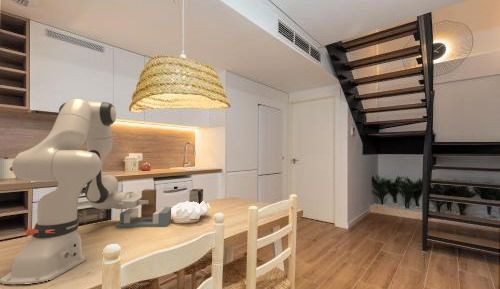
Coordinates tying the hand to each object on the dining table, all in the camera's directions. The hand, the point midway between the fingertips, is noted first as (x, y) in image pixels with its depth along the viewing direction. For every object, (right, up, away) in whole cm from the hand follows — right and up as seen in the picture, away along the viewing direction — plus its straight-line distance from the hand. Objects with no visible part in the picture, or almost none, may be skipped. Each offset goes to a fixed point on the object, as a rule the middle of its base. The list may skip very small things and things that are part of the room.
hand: (150, 200), depth 133 cm
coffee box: (+22, -13, +12) cm, 28 cm away
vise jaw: (-11, -10, -1) cm, 15 cm away
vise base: (-2, -12, -1) cm, 12 cm away
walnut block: (-1, -8, 0) cm, 8 cm away
